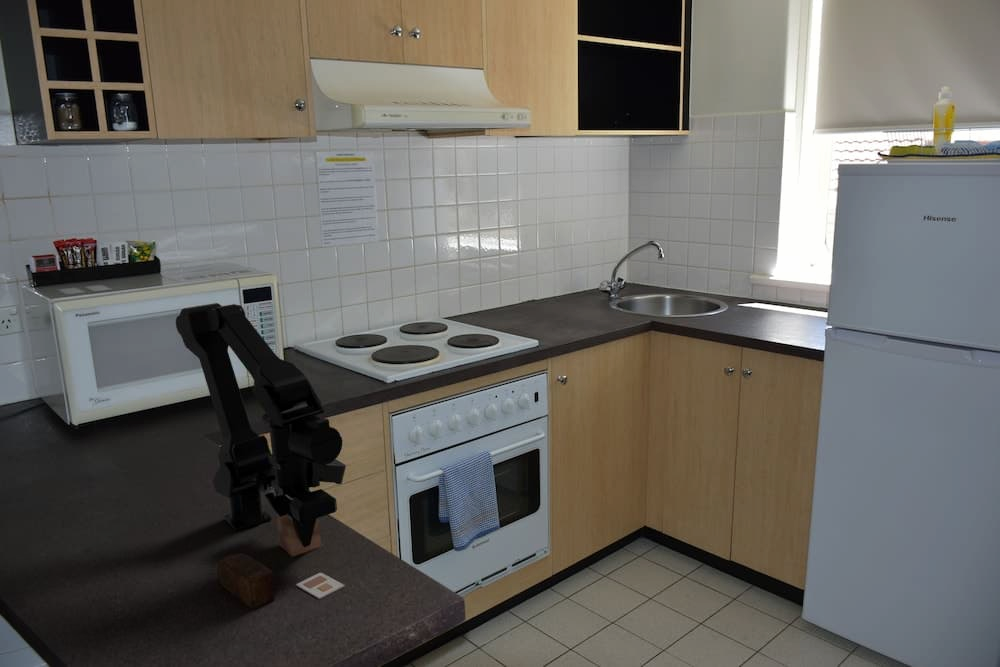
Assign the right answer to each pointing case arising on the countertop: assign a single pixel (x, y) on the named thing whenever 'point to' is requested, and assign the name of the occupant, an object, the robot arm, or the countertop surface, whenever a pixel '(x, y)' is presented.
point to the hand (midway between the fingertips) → (300, 540)
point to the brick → (247, 580)
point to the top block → (296, 537)
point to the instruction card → (320, 585)
